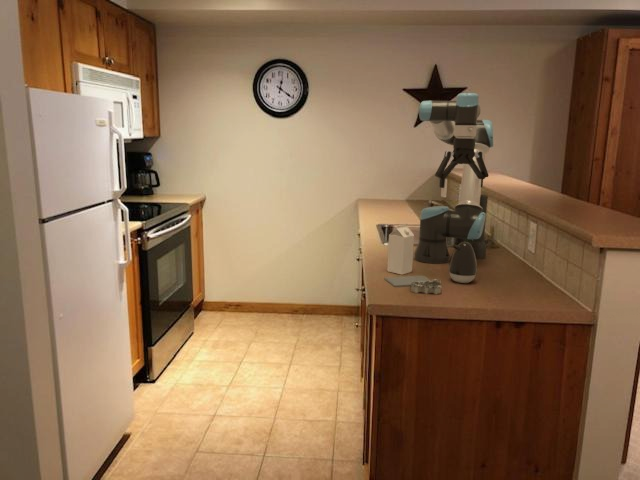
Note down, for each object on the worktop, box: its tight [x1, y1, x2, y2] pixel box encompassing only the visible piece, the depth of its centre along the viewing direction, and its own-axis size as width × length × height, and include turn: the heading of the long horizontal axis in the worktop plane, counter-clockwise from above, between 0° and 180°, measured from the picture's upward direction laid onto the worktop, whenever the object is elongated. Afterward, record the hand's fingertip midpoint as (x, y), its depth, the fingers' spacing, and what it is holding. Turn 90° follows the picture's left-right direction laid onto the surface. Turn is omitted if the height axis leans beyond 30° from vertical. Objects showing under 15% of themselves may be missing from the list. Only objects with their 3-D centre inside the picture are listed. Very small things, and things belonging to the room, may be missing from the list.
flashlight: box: [470, 193, 489, 260], centre depth 238 cm, size 7×28×7 cm
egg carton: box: [410, 278, 442, 295], centre depth 188 cm, size 11×8×4 cm
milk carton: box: [386, 223, 415, 275], centre depth 211 cm, size 7×7×19 cm
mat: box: [383, 275, 432, 288], centre depth 199 cm, size 16×10×1 cm, turn 104°
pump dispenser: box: [448, 241, 478, 284], centre depth 199 cm, size 10×10×15 cm
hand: (460, 196), depth 196 cm, fingers open, 13 cm apart
